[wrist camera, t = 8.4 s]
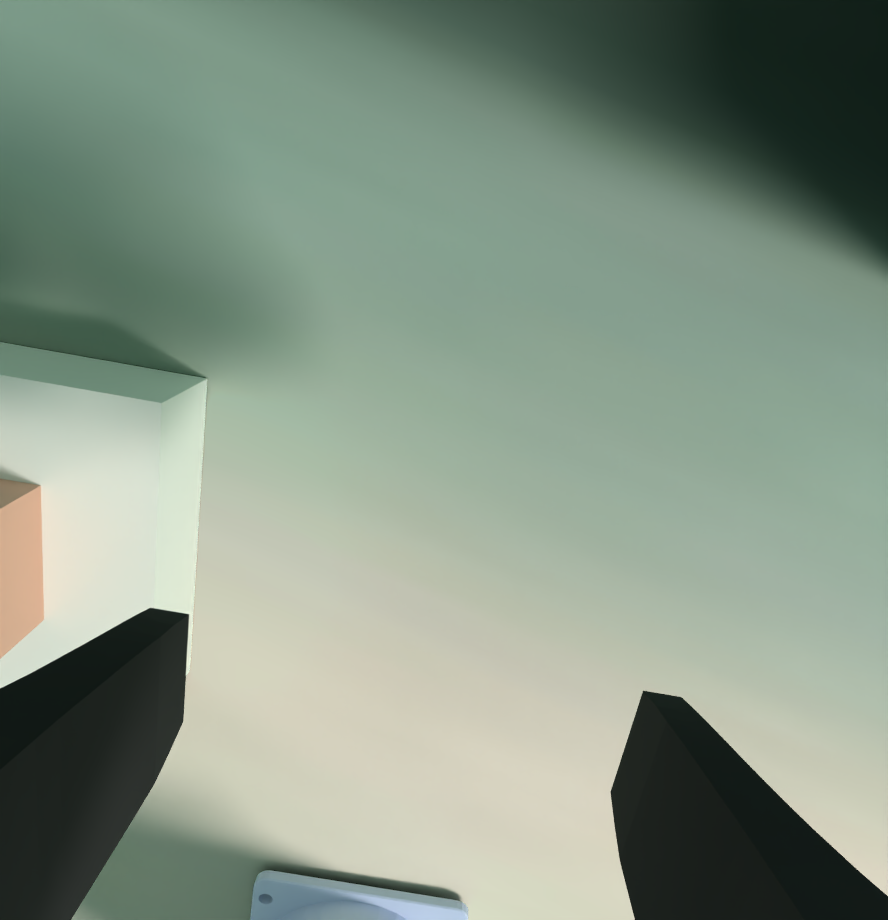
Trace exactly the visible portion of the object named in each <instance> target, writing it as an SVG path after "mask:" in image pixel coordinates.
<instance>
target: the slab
mask: <svg viewBox="0 0 888 920" xmlns="http://www.w3.org/2000/svg"><path fill="white" fill-rule="evenodd" d="M206 394H207V378H201V377H196V376H190V375H184V374H179V373H173V372H167V371H162V370H156V369H150V368H145V367H139V366H133V365H128V364H122V363H116V362H111V361H105V360H99V359H94V358H88V357H82V356H77V355H71V354H65V353H60V352H54V351H48V350H43V349H37V348H31V347H26V346H20V345H14V344H9V343H3V342H0V479H6V480H12V481H18V482H24V483H30V484H36V485H41V513H42V554H43V595H44V620H43V621H42V622H41V623H40V624H39V625H38V626H37V627H35V628H34V629H33V630H32V631H31V632H30V633H29V634H28V635H27V636H25V637H24V638H23V639H22V640H21V641H20V642H19V643H18V644H16V645H15V646H14V647H13V648H12V649H11V650H10V651H9V652H8V653H6V654H5V655H4V656H3V657H2V658H1V659H0V688H2V687H4V686H6V685H8V684H10V683H12V682H14V681H16V680H18V679H20V678H22V677H24V676H26V675H28V674H30V673H32V672H34V671H36V670H38V669H39V668H41V667H43V666H45V665H47V664H49V663H50V662H52V661H54V660H56V659H58V658H60V657H61V656H63V655H65V654H67V653H69V652H70V651H72V650H74V649H76V648H78V647H80V646H81V645H83V644H85V643H87V642H89V641H90V640H92V639H94V638H96V637H97V636H99V635H101V634H103V633H105V632H106V631H108V630H110V629H112V628H113V627H115V626H117V625H119V624H121V623H122V622H124V621H126V620H128V619H130V618H131V617H133V616H135V615H137V614H139V613H141V612H143V611H145V610H147V609H149V608H155V609H161V610H167V611H173V612H179V613H185V614H189V628H188V645H187V662H186V675H187V674H188V672H189V671H190V662H191V645H192V628H193V611H194V595H195V578H196V561H197V545H198V528H199V511H200V494H201V478H202V461H203V444H204V428H205V411H206Z"/></svg>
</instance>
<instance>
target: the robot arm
mask: <svg viewBox="0 0 888 920" xmlns="http://www.w3.org/2000/svg"><path fill="white" fill-rule="evenodd" d="M188 628H189V614H185V613H179V612H173V611H167V610H161V609H155V608H149V609H147V610H145V611H143V612H141V613H139V614H137V615H135V616H133V617H131V618H130V619H128V620H126V621H124V622H122V623H121V624H119V625H117V626H115V627H113V628H112V629H110V630H108V631H106V632H105V633H103V634H101V635H99V636H97V637H96V638H94V639H92V640H90V641H89V642H87V643H85V644H83V645H81V646H80V647H78V648H76V649H74V650H72V651H70V652H69V653H67V654H65V655H63V656H61V657H60V658H58V659H56V660H54V661H52V662H50V663H49V664H47V665H45V666H43V667H41V668H39V669H38V670H36V671H34V672H32V673H30V674H28V675H26V676H24V677H22V678H20V679H18V680H16V681H14V682H12V683H10V684H8V685H6V686H4V687H2V688H0V920H71V919H72V917H73V915H74V914H75V912H76V911H77V909H78V907H79V906H80V904H81V902H82V901H83V899H84V898H85V896H86V894H87V893H88V891H89V890H90V888H91V886H92V885H93V883H94V881H95V880H96V878H97V877H98V875H99V873H100V872H101V870H102V868H103V867H104V865H105V864H106V862H107V860H108V859H109V857H110V856H111V854H112V852H113V851H114V849H115V847H116V846H117V844H118V843H119V841H120V839H121V838H122V836H123V835H124V833H125V831H126V830H127V828H128V826H129V825H130V823H131V821H132V820H133V818H134V817H135V815H136V813H137V812H138V810H139V808H140V807H141V805H142V803H143V802H144V800H145V798H146V797H147V795H148V793H149V792H150V790H151V788H152V787H153V785H154V783H155V781H156V779H157V777H158V775H159V773H160V771H161V769H162V767H163V765H164V762H165V760H166V758H167V756H168V754H169V752H170V750H171V747H172V745H173V743H174V741H175V738H176V736H177V734H178V732H179V730H180V727H181V725H182V723H183V714H184V697H185V680H186V662H187V645H188ZM611 799H612V807H613V815H614V823H615V831H616V837H617V844H618V851H619V857H620V862H621V866H622V870H623V874H624V878H625V882H626V886H627V890H628V894H629V898H630V902H631V906H632V910H633V913H634V917H635V920H888V896H887V895H886V894H884V893H883V892H882V891H881V890H880V889H879V888H877V887H876V886H875V885H874V884H873V883H872V882H871V881H869V880H868V879H867V878H866V877H865V876H864V875H863V874H861V873H860V872H859V871H858V870H857V869H856V868H855V867H854V866H852V865H851V864H850V863H849V862H848V861H847V860H846V859H845V858H844V857H843V856H842V855H841V854H839V853H838V852H837V851H836V850H835V849H834V848H833V847H832V846H831V845H830V844H829V843H828V842H826V841H825V840H824V839H823V838H822V837H821V836H820V835H819V834H818V833H817V832H816V831H815V830H813V829H812V828H811V827H810V826H809V825H808V824H807V823H806V822H805V821H804V820H803V819H802V818H801V817H800V816H799V815H798V814H797V813H796V812H795V811H794V810H793V809H792V808H791V807H790V806H789V805H788V804H787V803H786V802H785V801H784V800H783V799H782V798H781V797H780V796H779V795H778V794H777V793H776V792H775V791H774V790H773V789H772V788H771V787H770V786H769V785H768V784H767V783H766V782H765V781H764V780H763V779H762V778H761V777H760V776H759V775H758V774H757V773H756V772H755V771H754V770H753V769H752V768H751V767H750V766H749V765H748V764H747V763H746V762H745V761H744V760H743V759H742V758H741V757H740V756H739V755H738V754H737V753H736V752H735V750H734V749H733V748H732V747H731V746H730V745H729V744H728V743H727V742H726V741H725V740H724V739H723V738H722V737H721V736H720V735H719V734H718V733H717V732H716V731H715V730H714V729H713V728H712V727H711V726H710V725H709V724H708V723H707V722H706V721H705V720H704V719H703V718H702V717H701V716H700V715H699V714H698V713H697V712H696V711H695V710H694V709H693V708H692V707H691V706H690V705H689V704H688V703H687V702H686V701H685V700H684V699H683V698H681V697H677V696H671V695H665V694H659V693H653V692H647V691H643V693H642V696H641V699H640V703H639V706H638V709H637V712H636V715H635V718H634V721H633V724H632V727H631V731H630V734H629V737H628V740H627V743H626V746H625V749H624V752H623V755H622V759H621V762H620V765H619V768H618V771H617V774H616V777H615V780H614V783H613V787H612V790H611ZM250 920H468V908H467V906H466V905H465V904H464V903H463V902H461V901H458V900H452V899H446V898H440V897H434V896H427V895H421V894H415V893H409V892H402V891H396V890H390V889H384V888H378V887H371V886H365V885H359V884H353V883H347V882H340V881H334V880H328V879H322V878H315V877H309V876H303V875H297V874H291V873H284V872H278V871H272V870H265V871H262V872H260V873H259V874H258V875H257V877H256V880H255V883H254V887H253V896H252V905H251V915H250Z"/></svg>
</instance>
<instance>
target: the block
mask: <svg viewBox="0 0 888 920" xmlns="http://www.w3.org/2000/svg"><path fill="white" fill-rule="evenodd" d="M43 620H44V595H43V554H42V513H41V485H36V484H30V483H24V482H18V481H12V480H6V479H0V659H1V658H2V657H3V656H4V655H5V654H6V653H8V652H9V651H10V650H11V649H12V648H13V647H14V646H15V645H16V644H18V643H19V642H20V641H21V640H22V639H23V638H24V637H25V636H27V635H28V634H29V633H30V632H31V631H32V630H33V629H34V628H35V627H37V626H38V625H39V624H40V623H41V622H42V621H43Z"/></svg>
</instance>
